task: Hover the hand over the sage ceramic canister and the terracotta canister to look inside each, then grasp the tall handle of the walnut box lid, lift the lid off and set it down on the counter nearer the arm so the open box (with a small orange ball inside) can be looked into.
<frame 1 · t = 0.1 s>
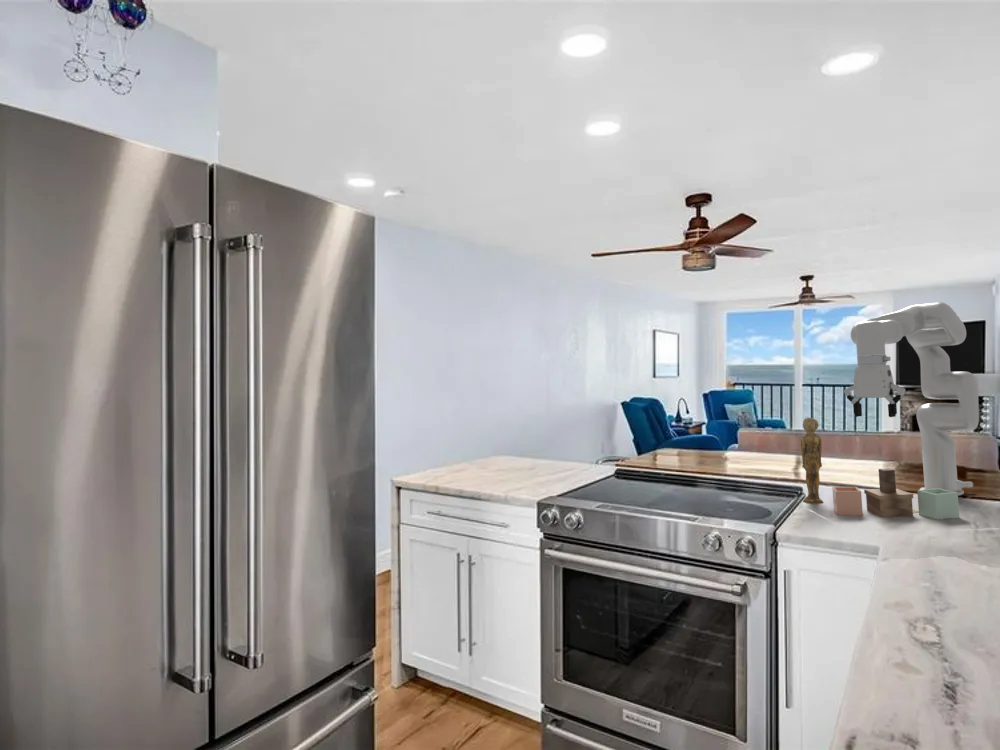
hand: (875, 416, 188), 31 cm above the counter, tool pointing down, fingers open, 9 cm apart
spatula: (899, 509, 195), on the counter
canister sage: (938, 517, 183), on the counter
sculpture: (814, 504, 210), on the counter
ball: (889, 512, 190), point 1 cm above the counter, touching box
canister terracotta: (848, 514, 194), on the counter
lid: (888, 495, 190), point 6 cm above the counter, touching box
box: (889, 514, 190), on the counter
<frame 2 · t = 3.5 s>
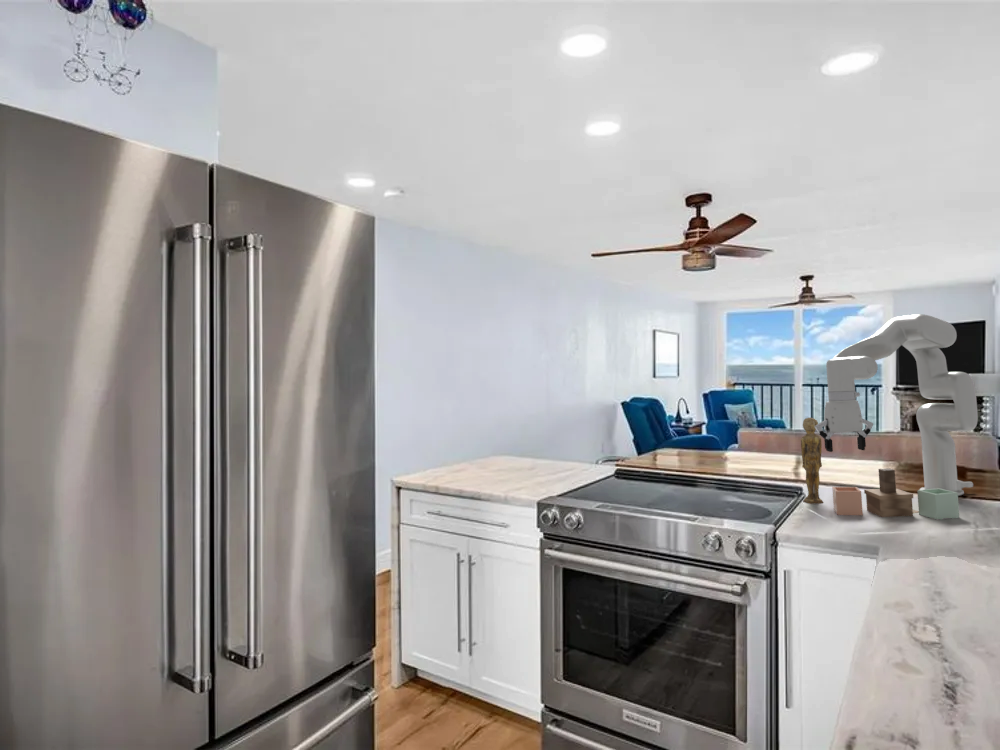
hand: (845, 450, 194), 20 cm above the counter, tool pointing down, fingers open, 9 cm apart
nothing on the counter moved.
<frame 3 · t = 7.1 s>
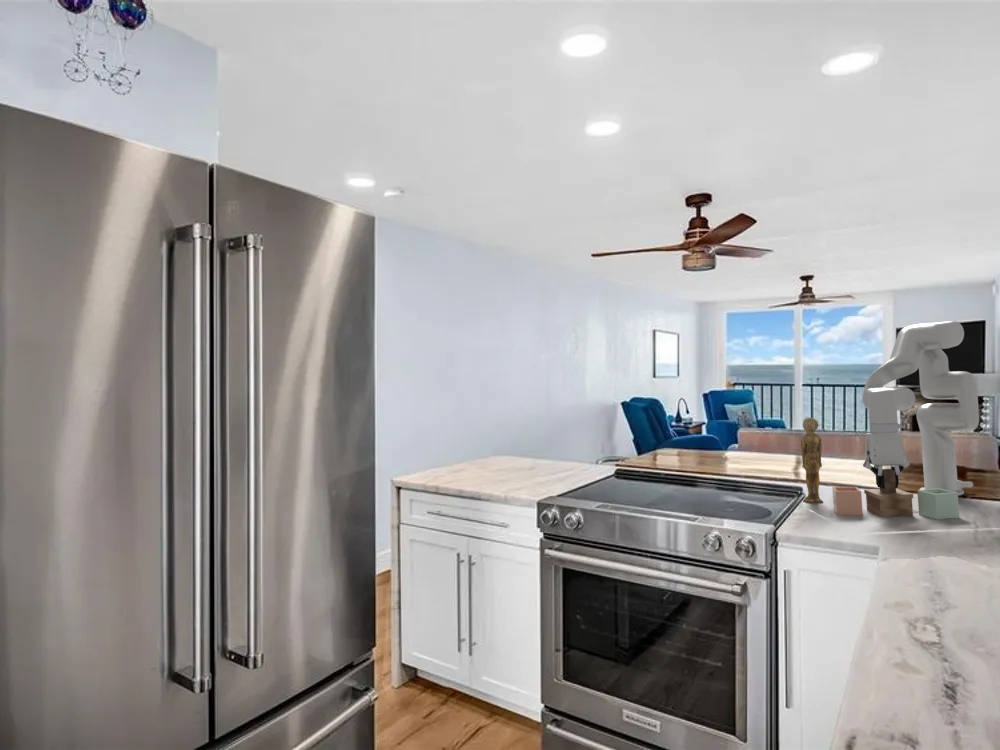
hand: (887, 486, 190), 9 cm above the counter, tool pointing down, fingers closed on lid, 3 cm apart
lid: (888, 495, 190), point 6 cm above the counter, touching box, gripper
everything else where it was.
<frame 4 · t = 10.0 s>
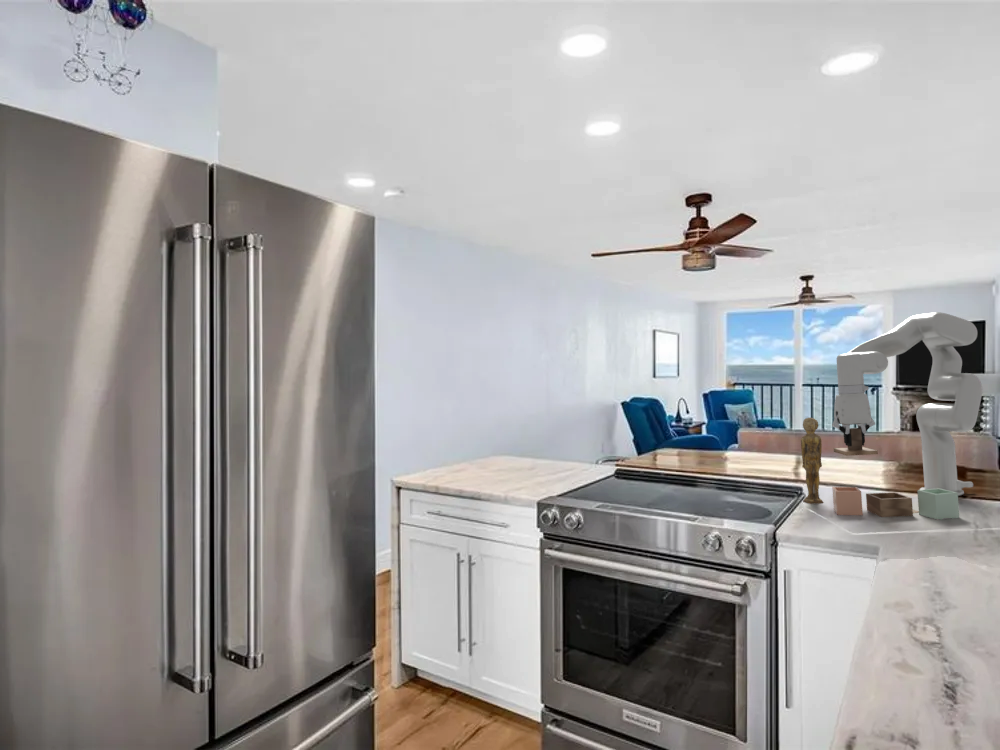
hand: (854, 444, 203), 21 cm above the counter, tool pointing down, fingers closed on lid, 3 cm apart
lid: (855, 453, 203), point 18 cm above the counter, touching gripper
everything else where it was.
when the fingers open (5 cm above the counter, at t = 13.3 s): lid drops 2 cm, on the counter.
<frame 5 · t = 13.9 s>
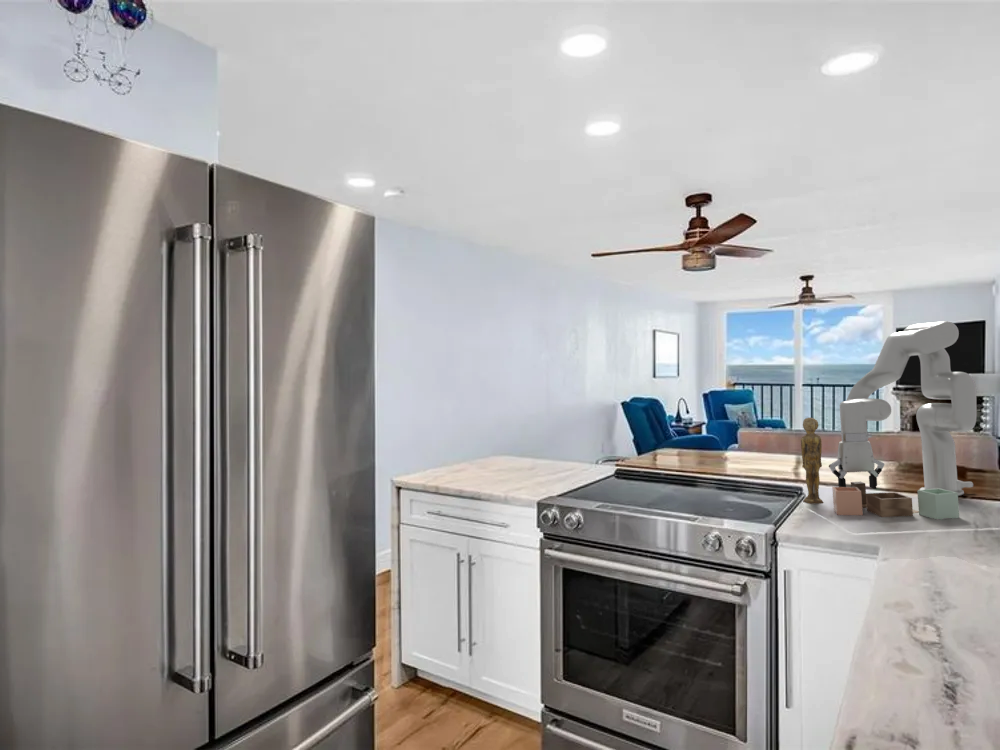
hand: (857, 488, 203), 6 cm above the counter, tool pointing down, fingers open, 9 cm apart
lid: (859, 507, 203), on the counter
everything else where it was.
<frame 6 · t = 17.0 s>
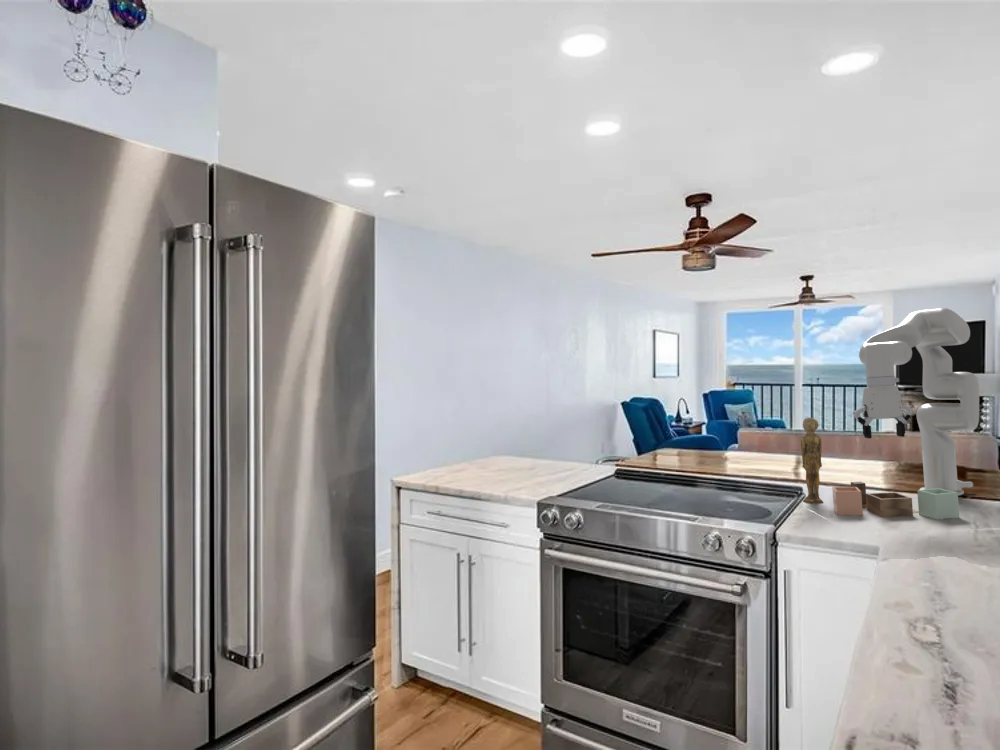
hand: (884, 437, 190), 24 cm above the counter, tool pointing down, fingers open, 9 cm apart
nothing on the counter moved.
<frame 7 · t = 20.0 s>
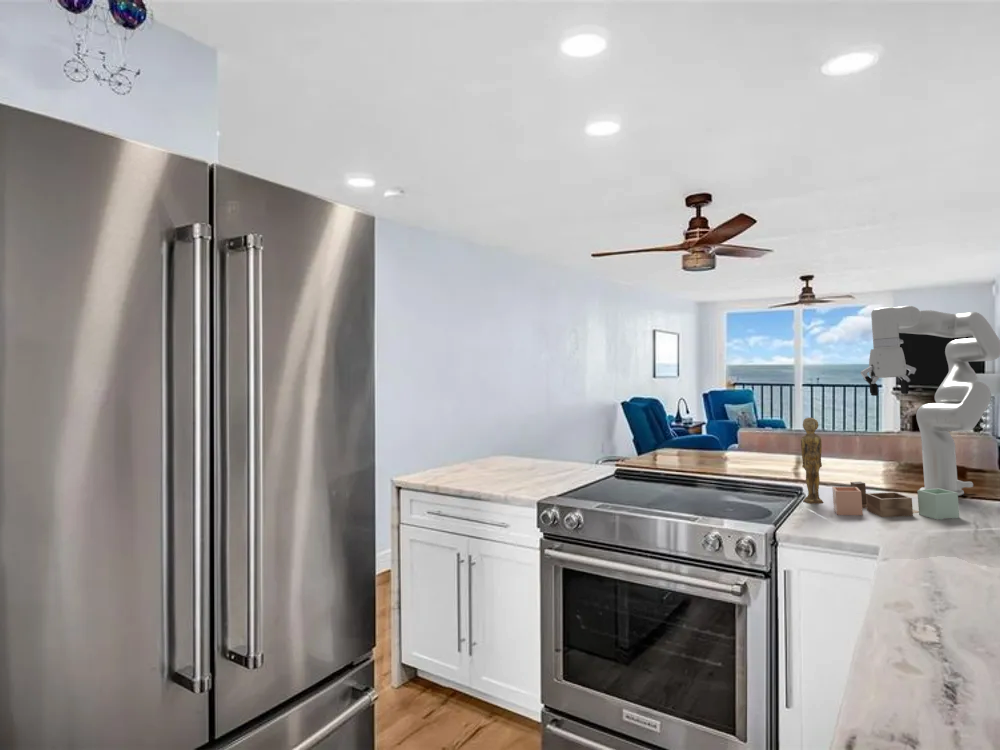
hand: (889, 394, 206), 36 cm above the counter, tool pointing down, fingers open, 9 cm apart
nothing on the counter moved.
at the end: lid inside the target area (0.1 cm from its centre), on the counter; lid touching counter; lid tilted 0° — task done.
